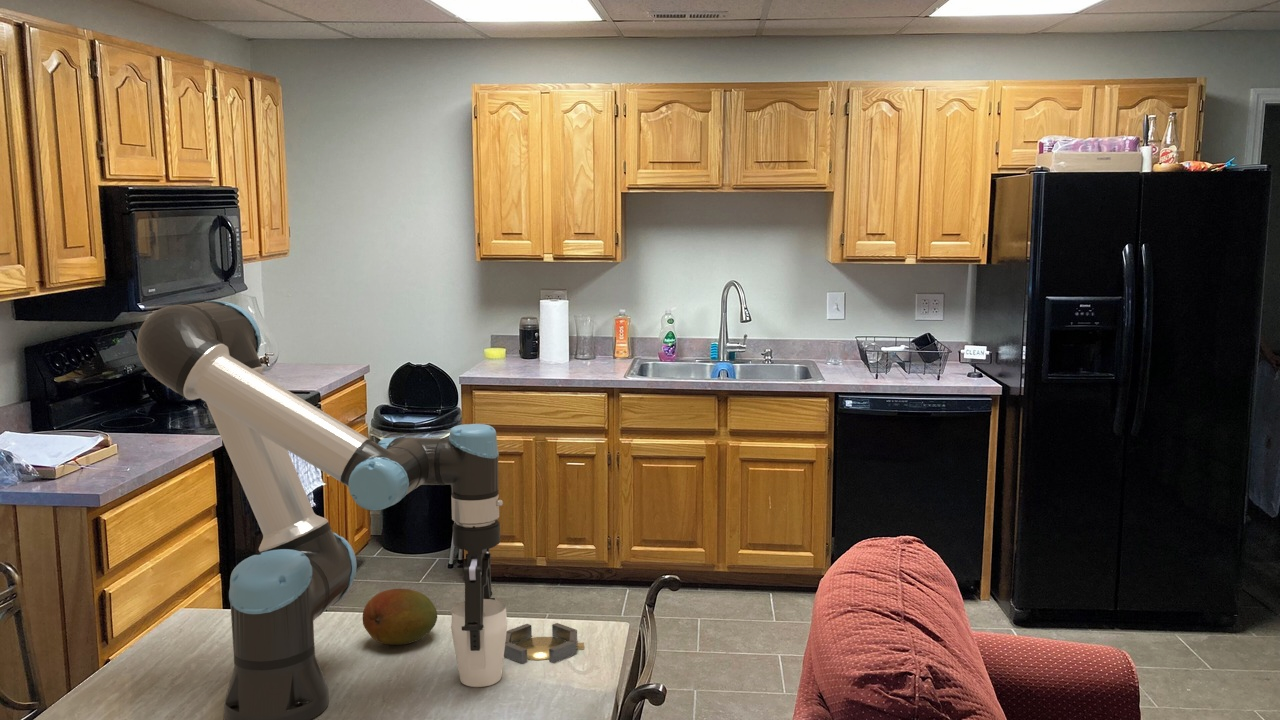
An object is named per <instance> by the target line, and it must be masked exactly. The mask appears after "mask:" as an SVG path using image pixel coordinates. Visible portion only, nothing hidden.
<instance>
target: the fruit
mask: <svg viewBox="0 0 1280 720" xmlns="http://www.w3.org/2000/svg"><path fill="white" fill-rule="evenodd" d="M437 619H438V611H437V608H436V606H435V605H434V603H433V602H432V600H430V598H429V597H428V596H427V595H425V594H424V593H421V592H419V591H416V590H414V589H410V588H409V589H408V588H392V589H386V590H382V591H381V592H379V593H376V595H374V596H373V597H372V598H370V600H369V601H368V602H367V603H366V605H365V606H364V609H363V611H362V625H363V628H364V629H365V631H366V632H367V633H368V634H369V635H370V637H372V638H373V639H374V640H375V641H377V642H379V643H381V644H384V645H391V646H392V645H394V646H402V645H407V644H411V643H415V642H416V641H419V640H422V638H424V637H425V636H427V635H428V634H429V633H430V632H432V630H433V628H434V627H435V625H436V623H437V621H438V620H437Z"/></svg>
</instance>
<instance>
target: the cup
mask: <svg viewBox="0 0 1280 720" xmlns="http://www.w3.org/2000/svg"><path fill="white" fill-rule="evenodd" d="M483 612H484V613H485V614H486V616H485V617H483V625H484V632H485V666H486V667H485V669H468V659H467V631H462V626H464V625H465V600H464V601H462V602H459V603H457V604H455V605H454V606H453V607H452V608H451V624H450V629H451V634H452V641H453V646H454V653H455V658H456V662H457V663H456V664H457V667H458V674H459V680H460V682H461V683H462V685H465V686H467V687H471V688H483V687H489V686H493V685H495V684H496V683H498V682H499V681H501V680H502V675H503V673H502V672H503V667H504V666H503V665H504V658H505V657H504V650H505V641H506V632H507V631H508V618H507V607H506V604H505V603H504V602H502V601H500V600H496V599H495V600H492V599H484V600H483ZM470 623H473V622H470Z"/></svg>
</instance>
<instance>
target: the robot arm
mask: <svg viewBox="0 0 1280 720" xmlns="http://www.w3.org/2000/svg"><path fill="white" fill-rule="evenodd" d="M261 345H262V335H261V331H260V327H259V325H258V324H257V322H256V320H255V319H254V317H253V316H252V314H251V313H250V312H248V310H246V309H244V308H243V307H242V306H239V305H237V304H236V303H233V302H227V301H220V300H205V301H203V302H195V303H187V304H175V305H174V304H173V305H168V306H164V307H162V308H160V309H158V310H156V311H154V312H153V313H152V314H150V315H149V316H147V318H146V319H145V320H144V322H143V323H142V325H141V326H140V328H139V330H138V333H137V339H136V349H137V355H138V358H139V359H140V362H141V363H142V365H143V367H144V369H146V371H147V372H148V373H149V374H150V375H151V376H152V377H153V378H155V380H157V381H158V382H160V383H161V384H163V385H164V386H166V387H167V388H168V389H171V390H172V391H173V392H175V393H176V394H178V395H180V396H182V397H183V398H185V399H187V400H189V401H193V400H194V401H195V400H197V399H201V400H202V401H204V402H205V403H206V406H207V408H208V410H209V413H210V415H211V418H212V419H213V421H214V424H215V427H216V429H217V431H218V433H219V436H220V438H221V440H222V442H223V446H224V447H225V450H226V452H227V455H228V456H229V458H230V461H231V464H232V465H233V469H234V471H235V473H236V476H237V477H238V479H239V482H240V484H241V488H242V490H243V492H244V494H245V497H246V498H247V501H248V503H249V506H250V508H251V510H252V512H253V515H254V517H255V519H256V521H257V524H258V526H259V528H260V532H261V533H262V540H261V543H260V544H259V546H258V551H259V554H252V555H251V556H249V557H247V558H244V559H243V560H242V561H240V562H239V563H238V564H236V566H235V567H234V569H233V570H232V571H231V574H230V579H229V590H228V600H229V604H230V615H231V616H230V621H231V633H232V634H231V636H232V650H233V651H232V652H233V670H232V673H231V677H230V679H229V684H228V687H227V692H226V694H225V698H224V702H223V709H224V711H223V713H224V714H223V715H224V720H312V719H314V718H316V717H318V716H319V715H321V714H322V713H323V712H324V711H325V710H326V709H327V707H328V706H329V703H330V693H329V685H328V682H327V681H326V677H325V676H324V673H323V670H322V668H321V666H320V663H319V662H318V659H317V656H316V650H315V649H316V648H315V629H314V627H315V626H314V623H315V622H314V621H316V619H318V618H319V617H320V616H321V615H322V614H324V613H325V612H326V611H327V610H328V609H329V608H330V607H332V606H334V605H335V604H337V603H338V602H339V601H340V600H341V599H343V597H344V596H345V595H346V593H347V592H348V590H349V589H350V587H351V586H352V585H353V583H354V580H355V579H356V578H355V577H356V574H357V569H358V568H357V557H356V554H355V551H354V549H353V547H352V545H351V544H350V542H348V540H347V539H346V538H344V536H340V535H339V534H338V533H336V532H333V530H332V527H331V525H330V522H329V520H328V518H325V517H323V516H320V515H317V514H316V513H315V512H314V510H313V507H312V504H311V501H310V500H309V498H308V494H307V493H306V491H305V488H304V486H303V483H302V480H301V479H300V477H299V475H298V472H297V469H296V468H295V467H296V466H295V465H294V463H293V460H292V457H291V456H290V453H291V454H293V455H295V456H297V457H298V458H300V459H301V460H303V461H305V462H306V463H308V464H310V465H312V466H314V467H315V468H317V469H318V470H320V471H322V472H323V473H325V474H327V475H328V476H330V477H332V478H334V479H335V480H337V481H338V482H340V483H341V484H344V486H346V487H348V492H349V494H350V496H351V498H352V500H353V501H354V503H356V505H358V506H359V507H360V508H363V509H364V510H368V511H382V510H385V509H387V508H389V507H392V506H394V505H396V504H397V503H399V502H400V501H402V499H404V498H405V497H406V495H408V494H410V493H411V492H413V491H414V490H415V489H417V488H418V487H420V486H422V485H423V486H424V485H425V486H429V485H430V486H435V485H436V486H446V485H450V488H451V495H450V496H451V497H450V498H451V520H452V521H453V522H454V523H453V524H452V543H453V546H454V547H455V548H457V549H459V550H464V551H466V552H467V553H466V554H465V558H463V573H464V601H465V625H464V626H462V631H467V659H468V669H485V667H486V666H485V632H484V625H483V617H485V616H486V614H485V613H484V612H483V600H484V599H492V600H496V597H492V596H493V591H492V575H491V561H492V556H491V555H492V553H490V549H493V548H494V547H497V546H498V545H499V544H500V543H501V523H500V521H499V520H498V519H499V518H500V507H502V506H503V505H504V501H503V500H502V499H499V497H500V495H499V494H500V491H499V489H500V488H499V456H500V455H499V453H500V452H499V450H498V438H497V431H496V429H495V428H494V427H493V426H491V425H489V424H484V423H470V424H469V423H468V424H467V423H466V424H465V423H464V424H458V425H455V426H452V427H451V428H450V430H449V436H448V437H445V438H444V437H442V438H441V437H440V438H439V437H406V436H398V437H386V438H383V439H381V440H379V441H378V442H375V441H372V440H371V439H369V437H366V436H365V435H363V434H362V433H360V432H358V431H357V430H355V429H353V428H351V427H350V426H349V425H346V424H345V423H343V422H341V421H339V420H338V419H336V418H335V417H334V416H331V415H330V414H329V413H327V412H324V411H323V410H322V409H320V408H318V407H316V406H315V405H313V404H312V403H310V402H308V401H306V400H305V399H303V398H301V397H299V396H298V395H296V394H295V393H294V392H291V391H290V390H288V389H287V388H284V387H283V386H281V385H279V384H278V383H277V382H274V381H273V380H271V379H270V378H268V377H267V376H264V375H263V374H261V373H262V372H263V369H264V367H263V365H262V363H261V360H260V358H259V355H258V354H259V351H260V346H261ZM289 452H290V453H289ZM470 622H473V623H470Z"/></svg>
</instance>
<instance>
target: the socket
mask: <svg viewBox="0 0 1280 720" xmlns="http://www.w3.org/2000/svg"><path fill="white" fill-rule="evenodd" d="M551 627H552V628H551V629H552V632H551V634H552V635H551V636H536V637H535V636H533V635H532V634H533V633H532V624H529V623H525V624H522V625H519V626H517V627H514V628H511V629H509V630H508V629H507V632H506V641H505V650H504V658H507V659H509V660H511V661H514V662H516V663H518V664H520V665H521V664H522V665H523V664H525V663H528V661H546V660H549V662H551V663H553V664H555V663H557V662H560V661H563V660H566V659H567V658H570V657H572V656H575V655H577V651H578V649H579V650H585V642H578V629H576V628H572V627H570V626H567V625H564V624H561V623H559V622H556V623H552V625H551Z"/></svg>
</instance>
